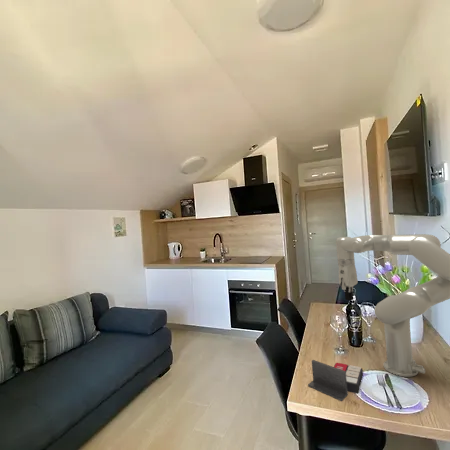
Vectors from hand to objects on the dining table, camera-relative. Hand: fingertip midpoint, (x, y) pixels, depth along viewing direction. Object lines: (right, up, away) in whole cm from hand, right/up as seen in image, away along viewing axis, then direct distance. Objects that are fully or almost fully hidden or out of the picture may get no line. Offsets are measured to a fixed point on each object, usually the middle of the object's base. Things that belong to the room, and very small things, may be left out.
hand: (349, 299), depth 134 cm
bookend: (-20, -29, -26) cm, 44 cm away
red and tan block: (-10, -29, -20) cm, 36 cm away
